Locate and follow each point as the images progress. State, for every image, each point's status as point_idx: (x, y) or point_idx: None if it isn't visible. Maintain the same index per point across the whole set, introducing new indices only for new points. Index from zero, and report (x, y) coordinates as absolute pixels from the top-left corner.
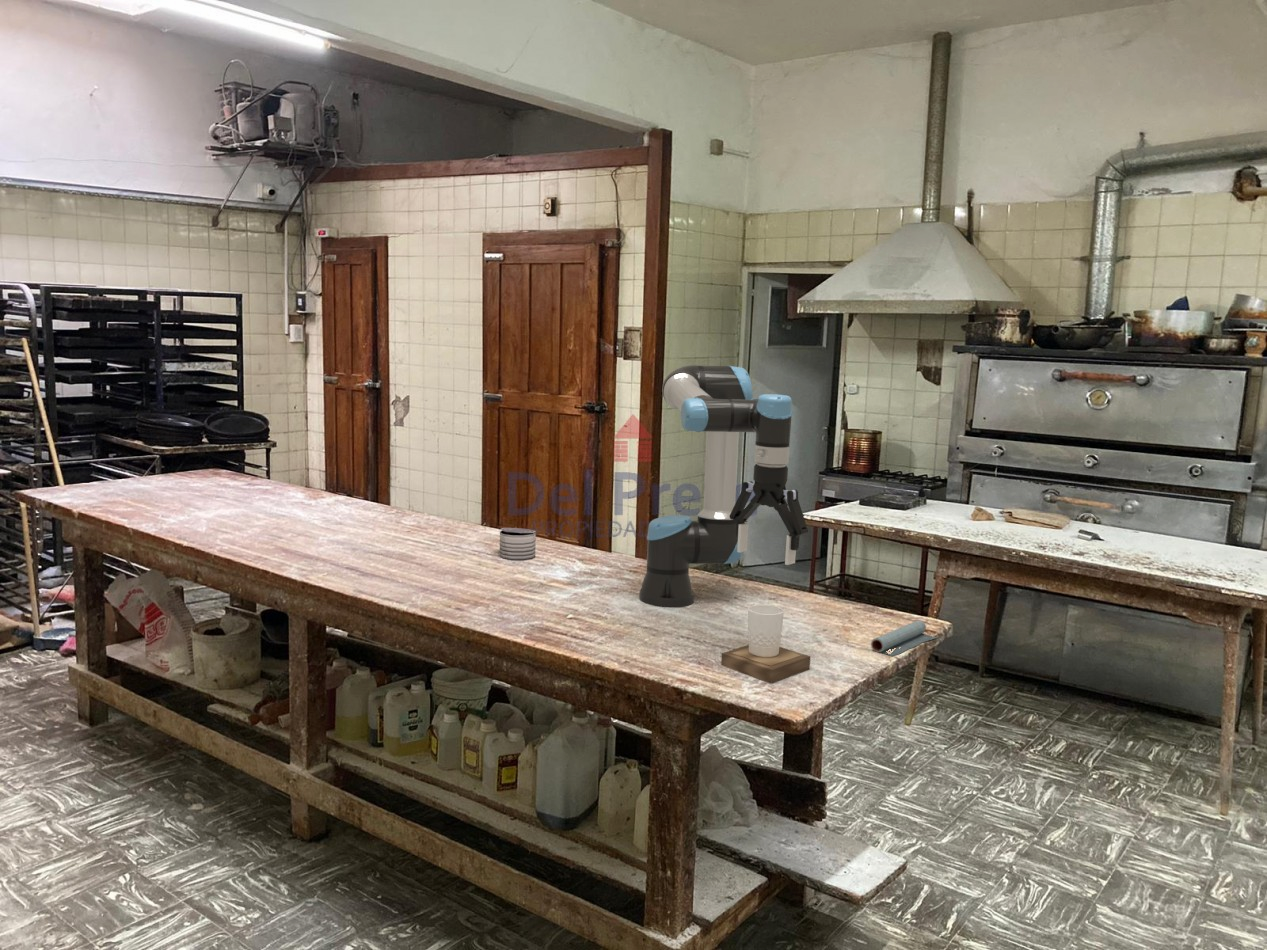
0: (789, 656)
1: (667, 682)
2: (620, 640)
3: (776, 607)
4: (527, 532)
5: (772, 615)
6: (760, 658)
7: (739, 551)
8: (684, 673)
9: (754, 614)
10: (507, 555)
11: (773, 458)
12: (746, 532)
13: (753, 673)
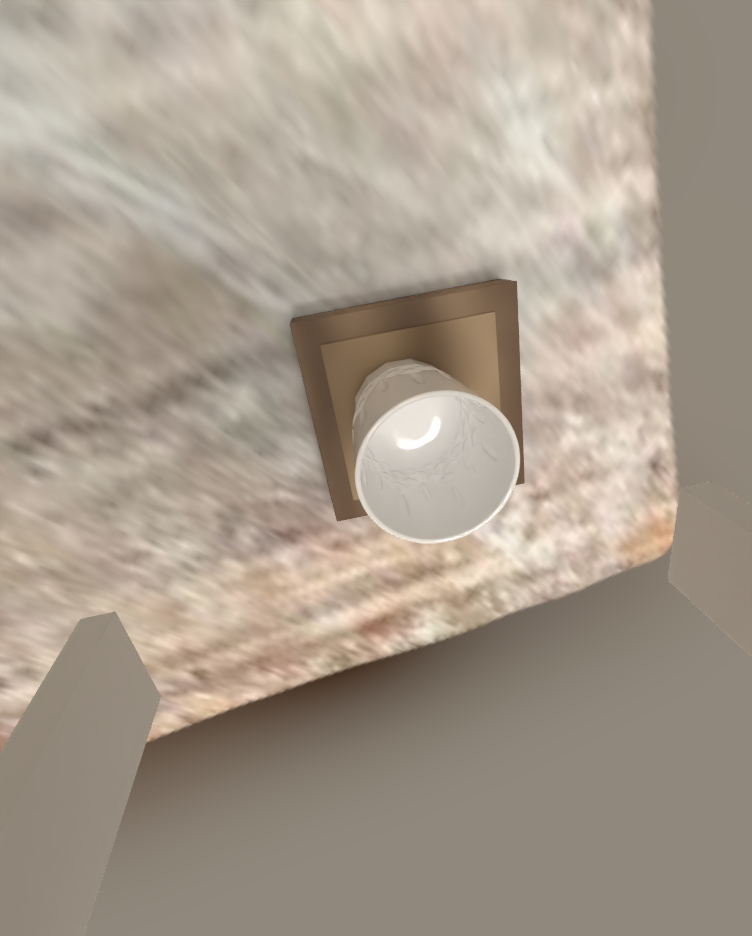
0: (479, 357)
1: (365, 657)
2: (13, 622)
3: (431, 396)
4: None
5: (508, 493)
6: None
7: (154, 705)
8: (335, 603)
9: (442, 536)
10: None
11: None
12: (15, 870)
13: None
